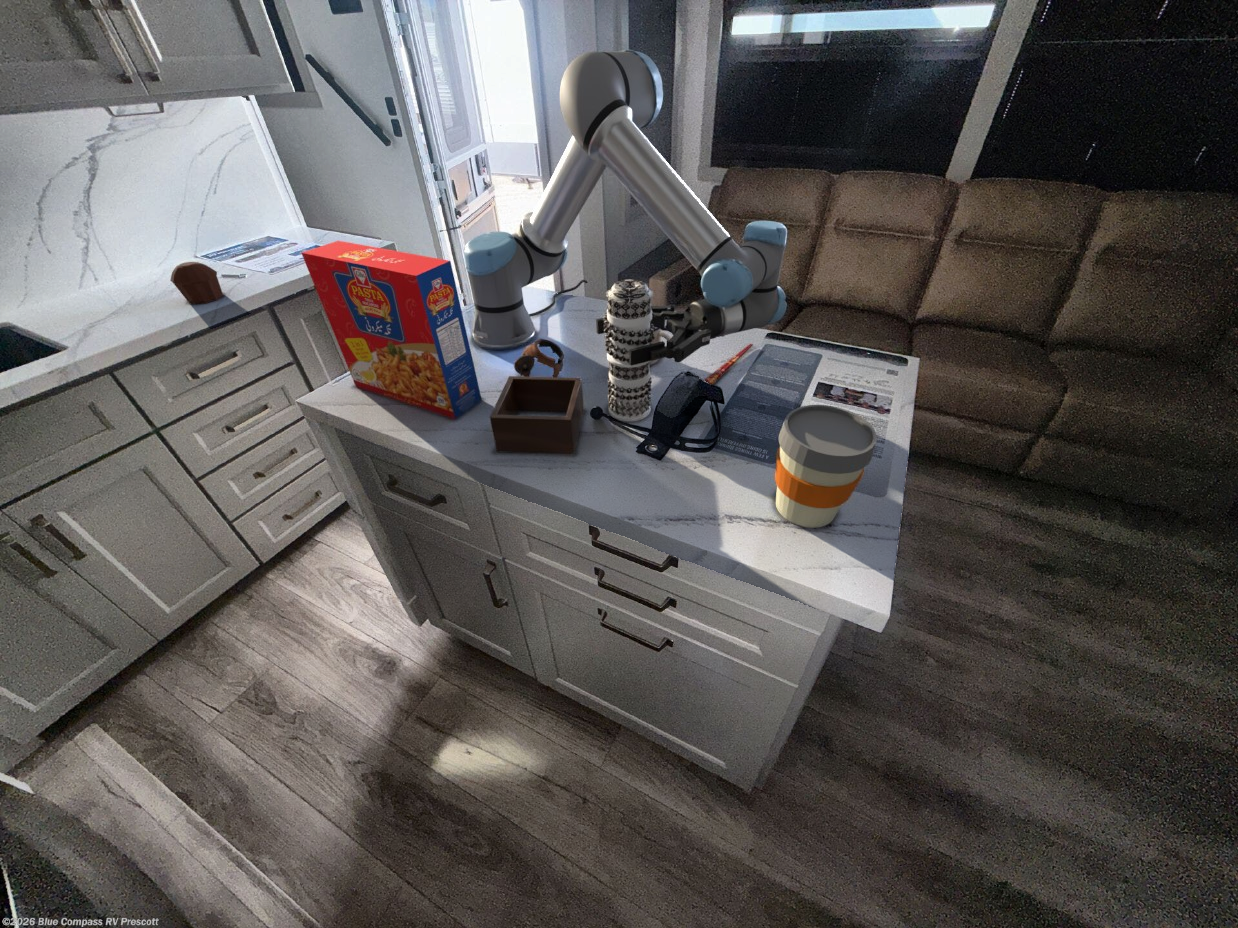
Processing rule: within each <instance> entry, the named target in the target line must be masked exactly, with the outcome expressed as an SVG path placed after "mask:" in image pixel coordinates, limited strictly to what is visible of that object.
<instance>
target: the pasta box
mask: <svg viewBox="0 0 1238 928" xmlns="http://www.w3.org/2000/svg"><path fill="white" fill-rule="evenodd" d="M300 254H301V256H302V258H303V261H304V264H305V267H306V268H307V271H308V273H309V276H310V277H311V280H312V282H313V285H314V288H315V290H316V293H317V295H318V298H319V300H320V302H321V305H322V307H323V310H324V312H325V315H326V317H327V319H328V323H329V325H330V328H331V329H332V332H333V335H334V337H335V339H336V342H337V344H338V346H339V349H340V351H341V354H342V356H343V359H344V361H345V363H346V366H347V369H348V371H349V373H350V376H351V378H352V381H353V383H354V385H355V387H356V388H359V389H362V390H365V391H368V392H370V393H371V392H372V393H374V394H377V395H381V396H384V397H387V398H389V399H392V400H395V401H398V402H401V403H404V404H407V405H410V406H414V407H416V408H419V409H423V410H426V411H429V412H432V413H435V414H438V415H441V416H445V417H447V418H450V419H453V420H457V419H458V418H459V417H460V416H462V415H463V414H464V413H465V412H467V411H468V410H469V409H471V408H472V407H473V406H475V405H476V404H478V403H479V402H480V401H481V400H482V395H481V391H480V387H479V382H478V377H477V373H476V369H475V365H474V360H473V355H472V351H471V346H470V342H469V338H468V333H467V327H466V324H465V319H464V315H463V311H462V307H461V303H460V298H459V293H458V288H457V285H456V280H455V275H454V271H453V266H452V262H451V260H450V259H449V260H448V259H442V258H438V257H432V256H427V255H420V254H415V253H409V252H404V251H397V250H392V249H387V248H382V247H375V246H371V245H365V244H360V243H355V242H348V241H342V240H336V241H332V242H329V243H327V244H323V245H321V246H317V247H314V248H312V249H309V250H305V251H303V252H300Z"/></svg>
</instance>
